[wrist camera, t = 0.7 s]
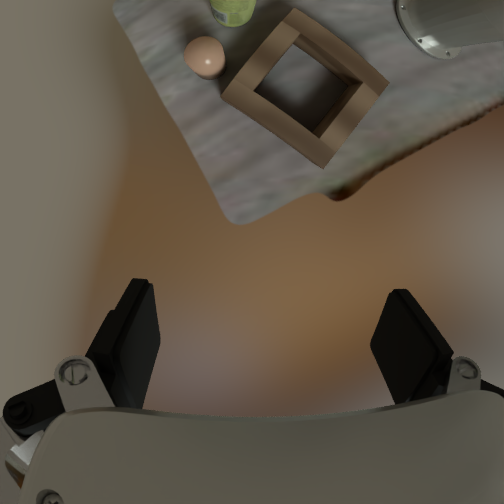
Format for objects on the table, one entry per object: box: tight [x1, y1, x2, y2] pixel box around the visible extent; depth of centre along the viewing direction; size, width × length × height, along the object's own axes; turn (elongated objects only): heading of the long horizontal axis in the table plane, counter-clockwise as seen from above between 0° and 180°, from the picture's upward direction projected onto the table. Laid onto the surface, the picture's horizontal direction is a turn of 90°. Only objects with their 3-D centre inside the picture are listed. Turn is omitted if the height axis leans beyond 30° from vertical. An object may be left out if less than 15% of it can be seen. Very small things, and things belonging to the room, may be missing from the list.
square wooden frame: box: [220, 7, 390, 169], centre depth 30 cm, size 14×14×5 cm
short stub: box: [184, 36, 226, 80], centre depth 27 cm, size 4×4×7 cm
